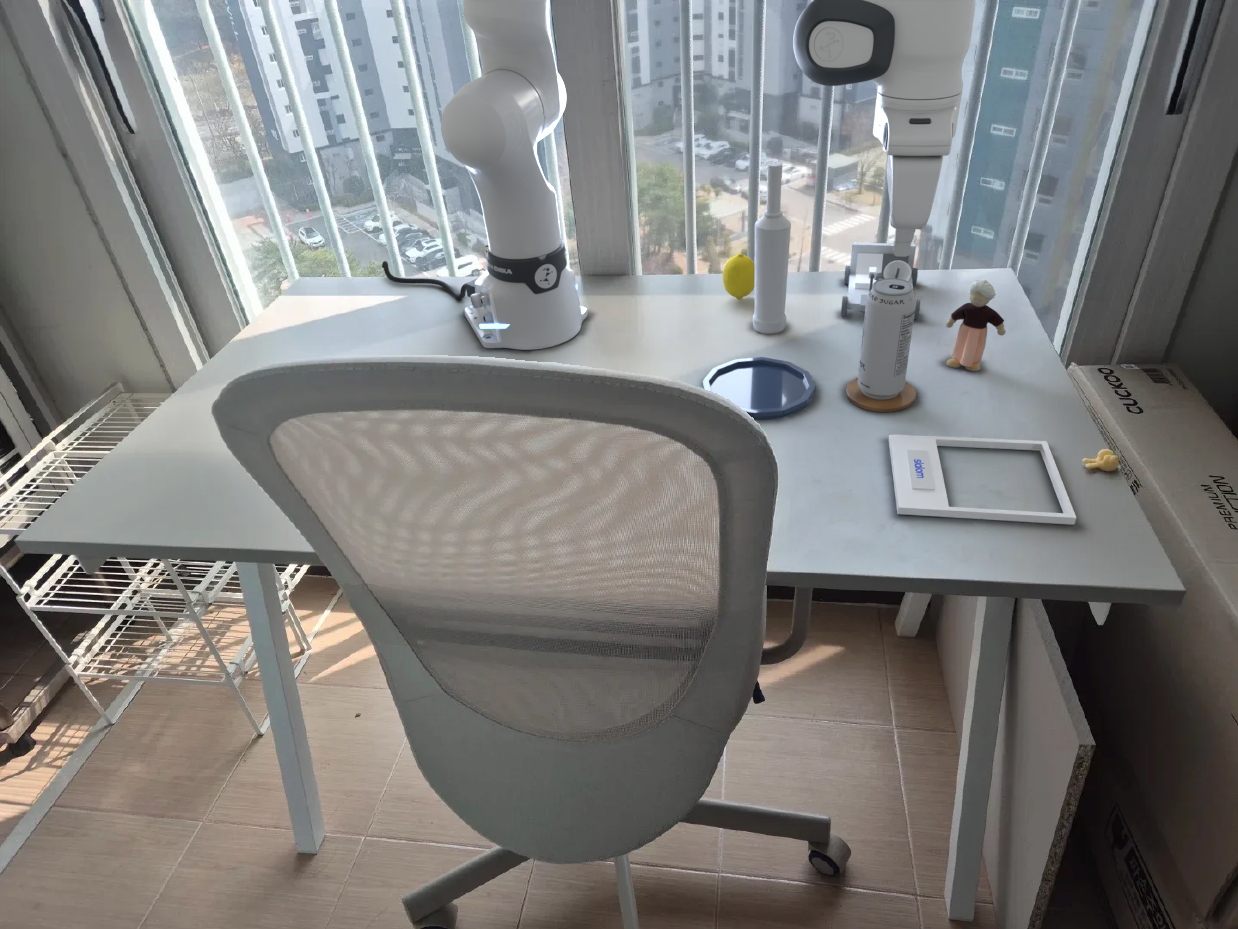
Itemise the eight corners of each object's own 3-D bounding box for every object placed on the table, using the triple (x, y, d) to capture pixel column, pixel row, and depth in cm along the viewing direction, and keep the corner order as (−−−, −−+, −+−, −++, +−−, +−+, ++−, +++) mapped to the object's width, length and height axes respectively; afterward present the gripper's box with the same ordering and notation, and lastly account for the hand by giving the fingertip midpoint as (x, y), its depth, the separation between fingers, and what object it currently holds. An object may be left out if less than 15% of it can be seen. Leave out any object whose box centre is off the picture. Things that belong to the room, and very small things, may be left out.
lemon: (723, 292, 145) (723, 247, 140) (756, 292, 144) (757, 246, 140) (721, 306, 140) (722, 260, 136) (756, 306, 140) (757, 259, 135)
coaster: (831, 392, 116) (832, 388, 116) (879, 371, 120) (879, 367, 119) (881, 419, 110) (882, 415, 109) (930, 397, 113) (930, 393, 113)
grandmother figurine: (938, 369, 119) (952, 284, 112) (939, 356, 122) (953, 272, 115) (997, 375, 117) (1016, 288, 109) (997, 362, 120) (1015, 277, 112)
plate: (681, 387, 120) (681, 379, 119) (764, 354, 126) (764, 347, 125) (750, 432, 109) (751, 424, 109) (837, 395, 115) (837, 387, 115)
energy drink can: (864, 375, 118) (876, 273, 109) (908, 384, 115) (924, 280, 107) (850, 396, 114) (861, 291, 105) (896, 405, 111) (910, 298, 102)
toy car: (927, 268, 123) (845, 265, 126) (918, 330, 129) (839, 326, 132) (923, 224, 138) (849, 223, 140) (915, 282, 143) (844, 279, 146)
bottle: (785, 334, 131) (793, 169, 116) (751, 333, 132) (755, 169, 117) (786, 320, 135) (794, 158, 120) (753, 319, 136) (757, 158, 122)
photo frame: (889, 433, 105) (1047, 439, 101) (888, 440, 105) (1044, 447, 102) (898, 506, 93) (1076, 516, 90) (897, 514, 94) (1074, 524, 90)
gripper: (883, 96, 103) (870, 209, 111) (888, 143, 87) (873, 271, 95) (938, 96, 102) (921, 210, 110) (954, 143, 86) (932, 273, 94)
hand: (899, 239), depth 102 cm, fingers open, 8 cm apart
